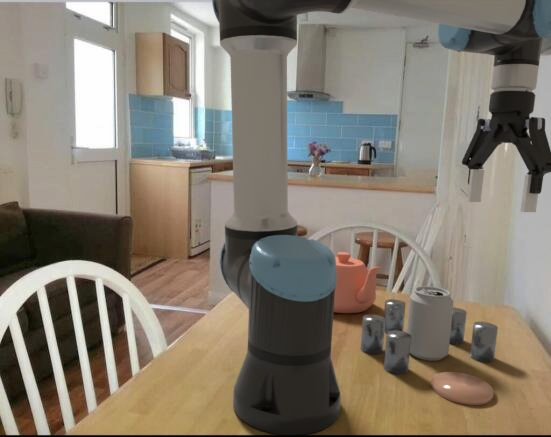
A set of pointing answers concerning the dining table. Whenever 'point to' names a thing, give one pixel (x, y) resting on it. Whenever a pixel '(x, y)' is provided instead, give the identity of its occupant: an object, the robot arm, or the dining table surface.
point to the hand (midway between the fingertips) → (499, 206)
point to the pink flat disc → (462, 388)
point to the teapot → (353, 285)
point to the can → (430, 322)
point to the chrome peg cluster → (401, 341)
